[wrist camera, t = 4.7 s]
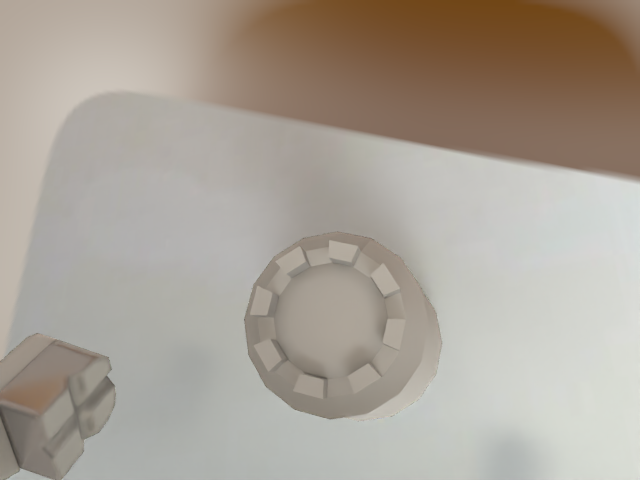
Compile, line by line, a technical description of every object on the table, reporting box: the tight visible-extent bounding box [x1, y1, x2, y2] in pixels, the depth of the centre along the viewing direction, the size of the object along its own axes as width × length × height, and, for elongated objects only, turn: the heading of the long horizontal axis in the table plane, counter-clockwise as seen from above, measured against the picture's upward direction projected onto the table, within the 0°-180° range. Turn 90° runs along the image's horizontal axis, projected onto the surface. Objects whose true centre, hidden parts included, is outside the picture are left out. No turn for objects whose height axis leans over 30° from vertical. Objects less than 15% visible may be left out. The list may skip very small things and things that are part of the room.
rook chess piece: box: [244, 232, 442, 421], centre depth 13 cm, size 4×4×8 cm
